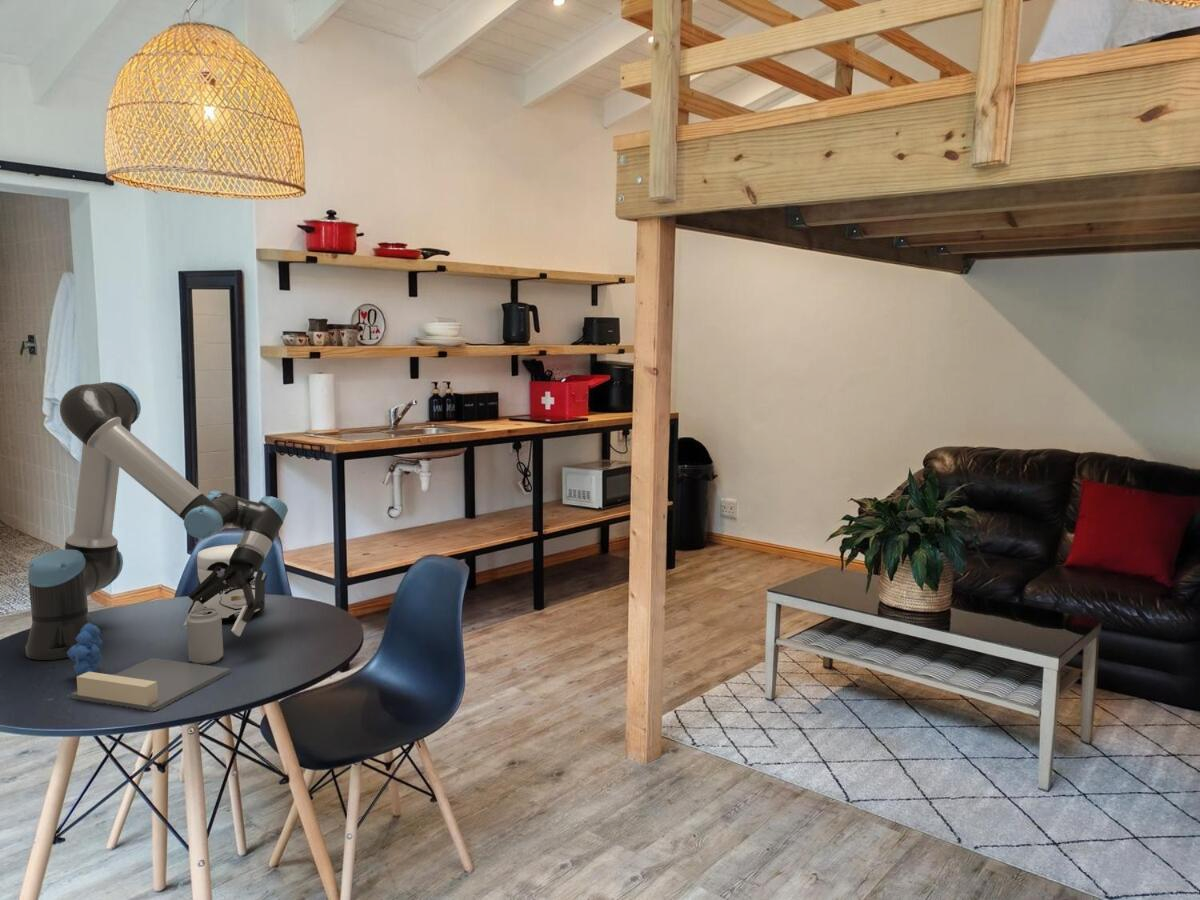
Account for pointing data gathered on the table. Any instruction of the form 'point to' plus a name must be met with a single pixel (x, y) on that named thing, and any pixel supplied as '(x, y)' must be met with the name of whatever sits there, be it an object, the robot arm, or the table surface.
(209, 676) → the stop plate
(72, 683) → the table surface
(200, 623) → the can
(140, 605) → the table surface
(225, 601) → the milk container
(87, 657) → the grapes
